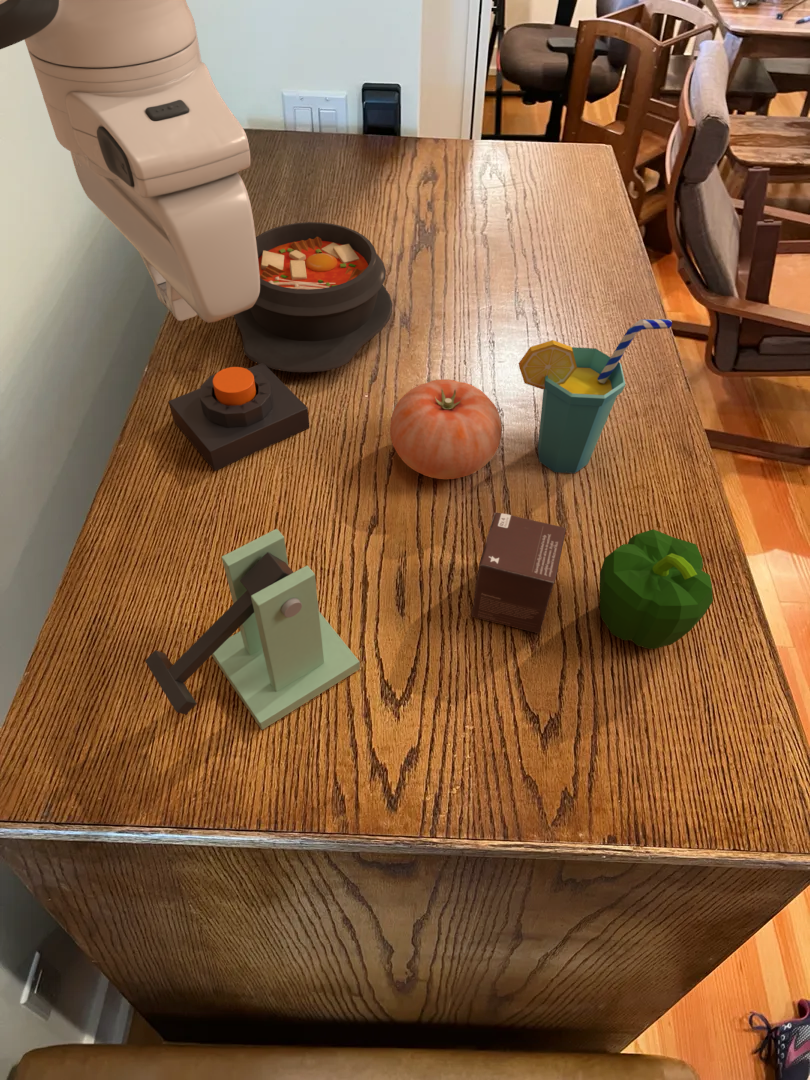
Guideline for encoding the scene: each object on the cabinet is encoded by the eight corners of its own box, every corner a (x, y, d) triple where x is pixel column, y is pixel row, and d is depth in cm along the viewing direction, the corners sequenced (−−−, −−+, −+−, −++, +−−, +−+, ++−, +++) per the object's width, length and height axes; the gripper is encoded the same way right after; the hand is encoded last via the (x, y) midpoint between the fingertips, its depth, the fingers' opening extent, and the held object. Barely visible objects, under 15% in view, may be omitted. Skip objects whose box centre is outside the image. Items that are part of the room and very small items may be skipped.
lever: (192, 716, 53) (169, 711, 51) (160, 665, 56) (138, 658, 54) (312, 595, 53) (295, 585, 51) (275, 549, 55) (257, 538, 53)
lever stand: (261, 730, 58) (237, 639, 48) (211, 656, 62) (179, 557, 52) (360, 669, 61) (356, 572, 52) (306, 602, 65) (293, 501, 56)
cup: (611, 415, 82) (650, 290, 70) (650, 464, 77) (697, 339, 66) (492, 443, 79) (511, 317, 67) (524, 495, 74) (551, 370, 62)
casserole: (377, 393, 83) (377, 328, 77) (209, 378, 84) (195, 311, 78) (403, 269, 99) (405, 206, 93) (262, 257, 100) (253, 194, 94)
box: (539, 636, 64) (554, 584, 58) (469, 618, 65) (477, 564, 59) (552, 580, 68) (567, 526, 62) (485, 564, 69) (494, 509, 63)
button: (227, 411, 75) (224, 397, 73) (208, 390, 77) (205, 376, 75) (263, 396, 76) (261, 382, 75) (243, 375, 78) (241, 361, 77)
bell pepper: (577, 584, 67) (603, 508, 60) (669, 580, 68) (706, 504, 60) (600, 668, 62) (631, 596, 54) (699, 662, 63) (743, 591, 55)
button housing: (214, 471, 75) (206, 437, 72) (173, 421, 80) (163, 386, 76) (309, 427, 79) (306, 393, 76) (265, 382, 84) (260, 348, 80)
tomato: (418, 511, 72) (421, 449, 66) (372, 439, 79) (371, 376, 72) (517, 477, 76) (529, 416, 69) (465, 411, 82) (472, 348, 76)
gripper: (11, 51, 47) (81, 257, 58) (149, 181, 37) (204, 403, 48) (109, 31, 50) (159, 232, 60) (264, 148, 39) (291, 366, 50)
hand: (179, 309), depth 54 cm, fingers closed
